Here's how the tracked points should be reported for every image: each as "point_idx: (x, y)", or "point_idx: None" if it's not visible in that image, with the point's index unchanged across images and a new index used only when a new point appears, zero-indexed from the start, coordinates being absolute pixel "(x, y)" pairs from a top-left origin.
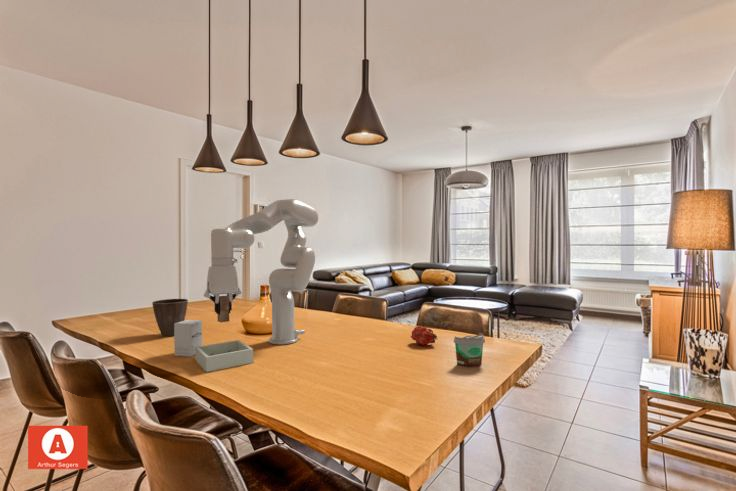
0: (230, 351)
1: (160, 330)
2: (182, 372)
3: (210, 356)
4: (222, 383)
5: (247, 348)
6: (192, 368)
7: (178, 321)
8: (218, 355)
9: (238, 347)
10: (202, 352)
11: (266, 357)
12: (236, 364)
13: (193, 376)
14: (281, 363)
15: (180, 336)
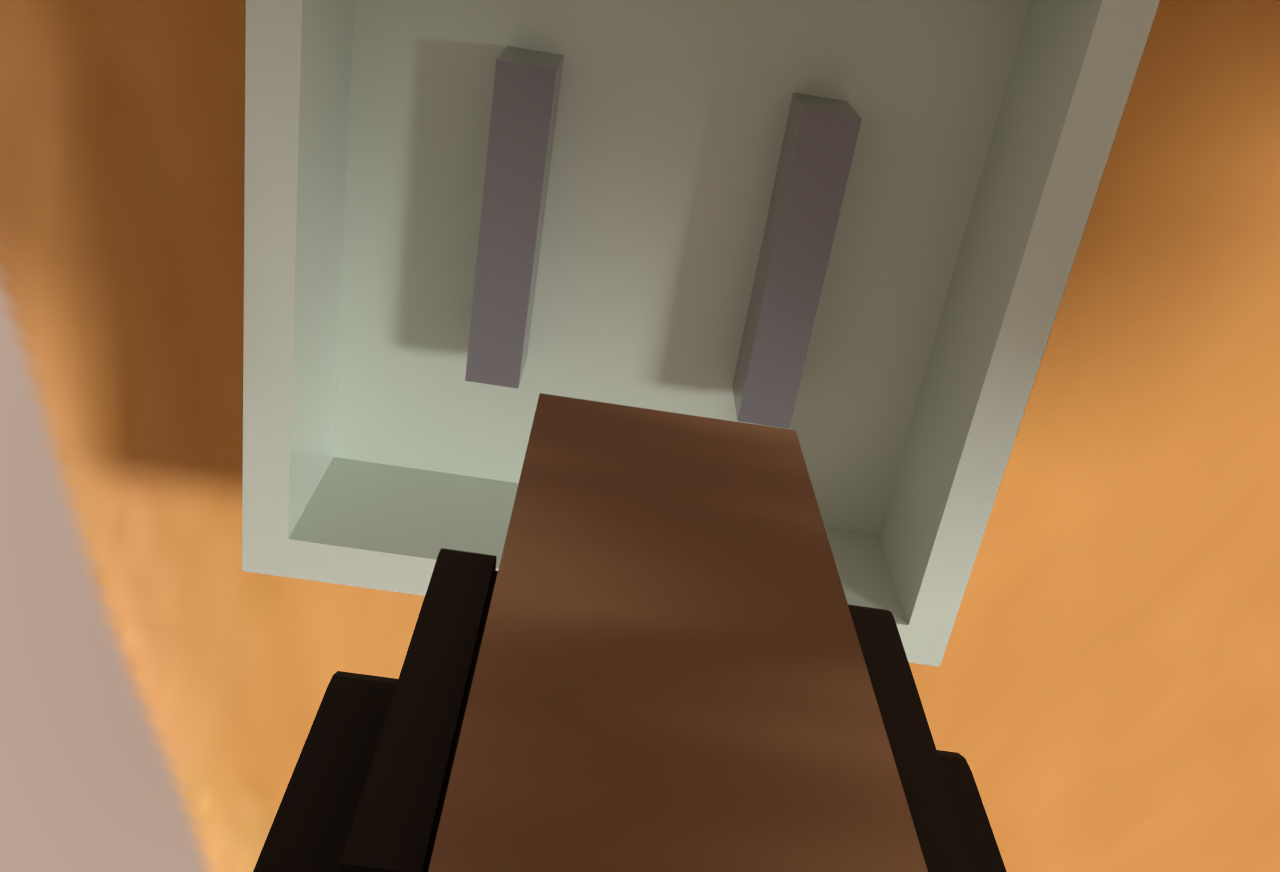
0: (783, 232)
1: None
2: (40, 245)
3: (305, 568)
4: None
5: (929, 537)
6: (190, 177)
7: None
8: (418, 592)
9: (1044, 50)
10: (264, 282)
11: (1161, 479)
12: None
13: (136, 488)
14: (1094, 781)
15: None
